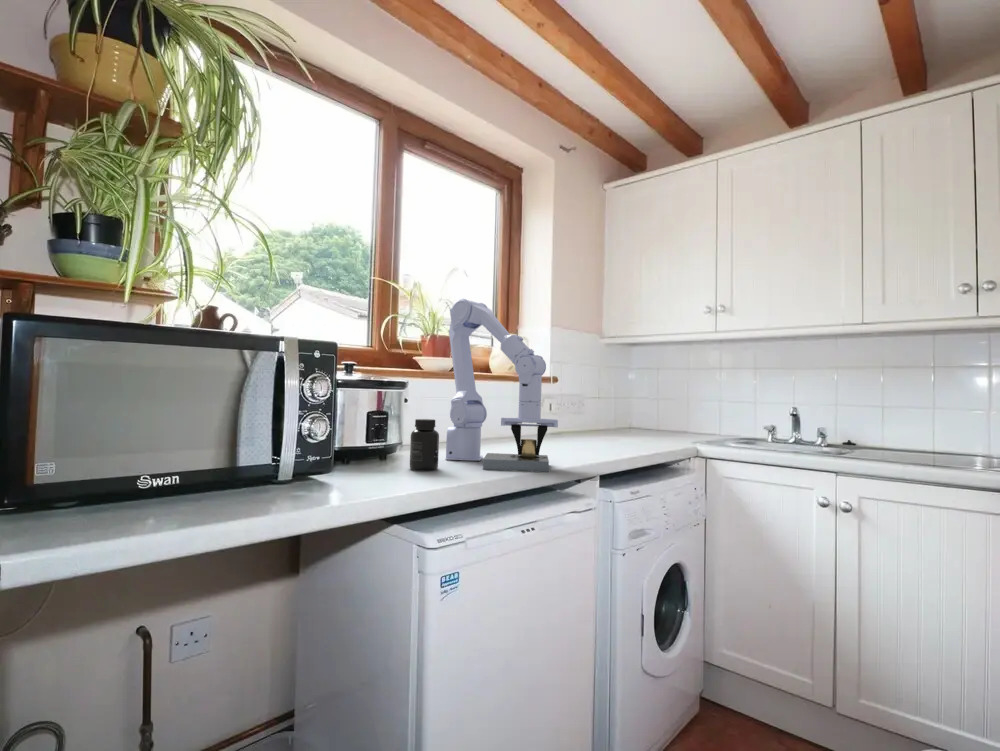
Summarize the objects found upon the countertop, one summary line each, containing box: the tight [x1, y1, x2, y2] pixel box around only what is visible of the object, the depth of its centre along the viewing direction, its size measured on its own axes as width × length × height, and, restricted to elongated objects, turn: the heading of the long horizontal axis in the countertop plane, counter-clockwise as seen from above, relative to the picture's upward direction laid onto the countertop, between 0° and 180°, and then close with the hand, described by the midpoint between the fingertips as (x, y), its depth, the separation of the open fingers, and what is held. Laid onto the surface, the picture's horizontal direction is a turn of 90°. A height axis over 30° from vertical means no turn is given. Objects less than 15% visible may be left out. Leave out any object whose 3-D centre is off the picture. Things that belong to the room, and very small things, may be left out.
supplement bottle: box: [409, 418, 440, 472], centre depth 126 cm, size 7×7×12 cm
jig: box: [482, 452, 550, 473], centre depth 134 cm, size 16×12×2 cm
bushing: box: [521, 438, 537, 459], centre depth 134 cm, size 4×4×6 cm
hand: (528, 454), depth 134 cm, fingers closed on bushing, 4 cm apart
